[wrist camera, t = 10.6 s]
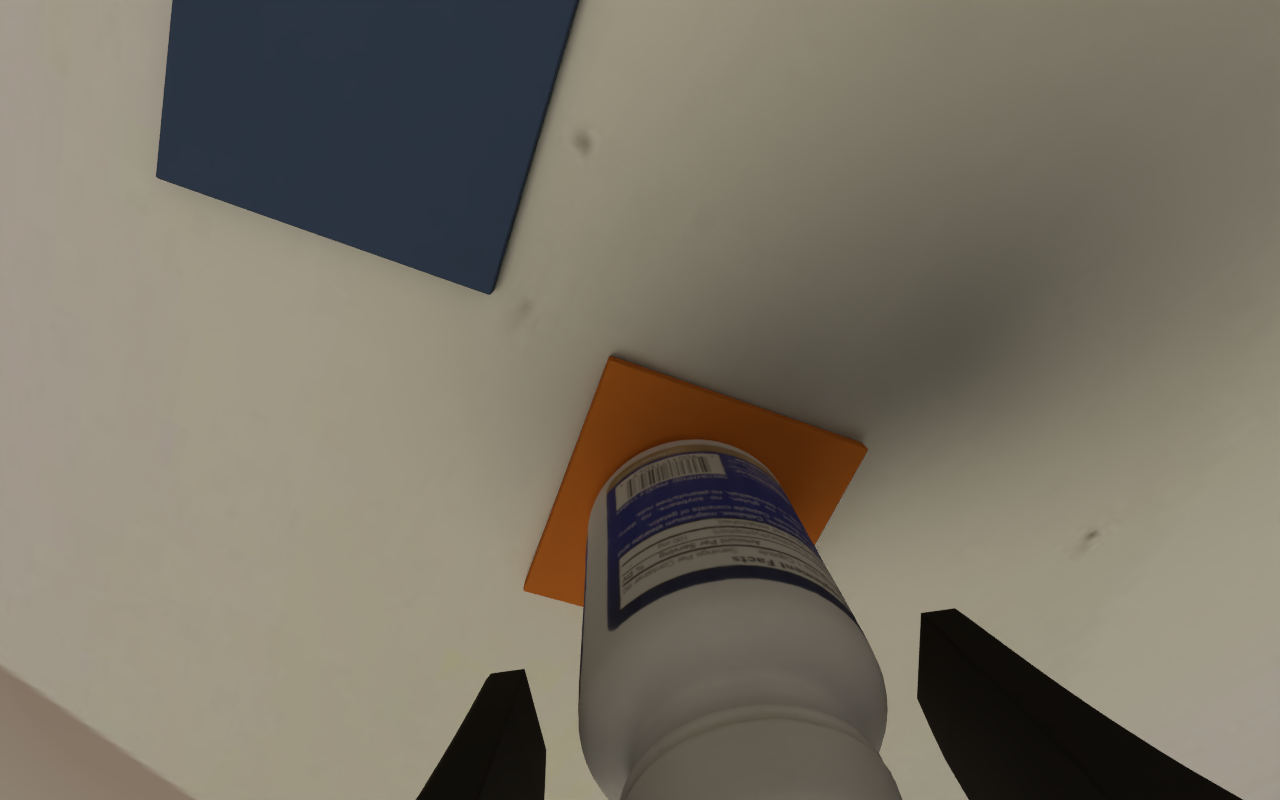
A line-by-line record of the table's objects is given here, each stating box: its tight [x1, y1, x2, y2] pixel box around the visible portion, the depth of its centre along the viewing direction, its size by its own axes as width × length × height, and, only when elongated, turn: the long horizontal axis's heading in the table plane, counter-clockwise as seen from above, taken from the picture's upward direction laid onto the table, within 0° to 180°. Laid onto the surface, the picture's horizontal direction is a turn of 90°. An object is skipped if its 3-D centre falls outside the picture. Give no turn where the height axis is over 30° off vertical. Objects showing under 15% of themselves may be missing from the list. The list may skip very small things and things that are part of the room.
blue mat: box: [156, 0, 579, 295], centre depth 12 cm, size 7×7×1 cm
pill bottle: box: [578, 439, 902, 800], centre depth 12 cm, size 5×5×9 cm
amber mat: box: [523, 356, 868, 607], centre depth 16 cm, size 7×7×1 cm
